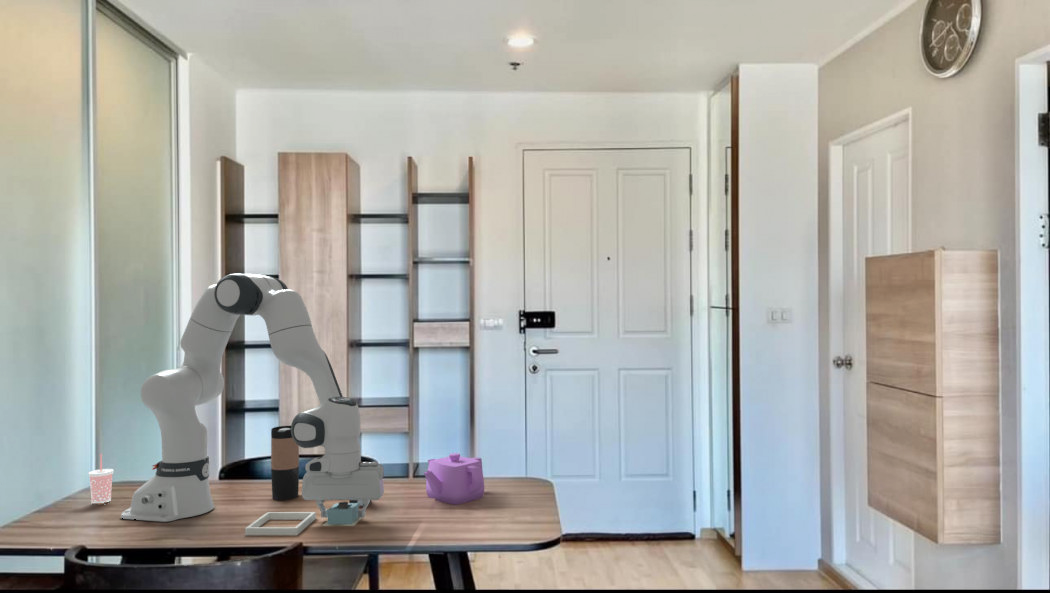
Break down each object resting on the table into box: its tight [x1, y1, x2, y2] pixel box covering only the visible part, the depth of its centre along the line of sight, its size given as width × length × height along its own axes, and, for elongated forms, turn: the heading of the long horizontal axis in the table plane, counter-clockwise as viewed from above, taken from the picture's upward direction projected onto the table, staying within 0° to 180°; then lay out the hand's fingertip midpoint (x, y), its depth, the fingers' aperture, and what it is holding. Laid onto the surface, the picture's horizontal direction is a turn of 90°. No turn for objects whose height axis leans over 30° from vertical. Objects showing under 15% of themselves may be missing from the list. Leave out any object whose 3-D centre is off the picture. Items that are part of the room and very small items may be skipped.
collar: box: [327, 502, 360, 524], centre depth 171 cm, size 6×7×4 cm
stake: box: [322, 500, 362, 527], centre depth 171 cm, size 8×8×6 cm
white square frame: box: [244, 511, 317, 536], centre depth 167 cm, size 13×13×3 cm
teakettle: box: [423, 452, 485, 506], centre depth 195 cm, size 17×17×12 cm
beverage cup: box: [88, 453, 114, 504], centre depth 193 cm, size 6×6×14 cm
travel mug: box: [270, 425, 300, 501], centre depth 197 cm, size 8×8×20 cm
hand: (343, 516), depth 171 cm, fingers open, 8 cm apart
